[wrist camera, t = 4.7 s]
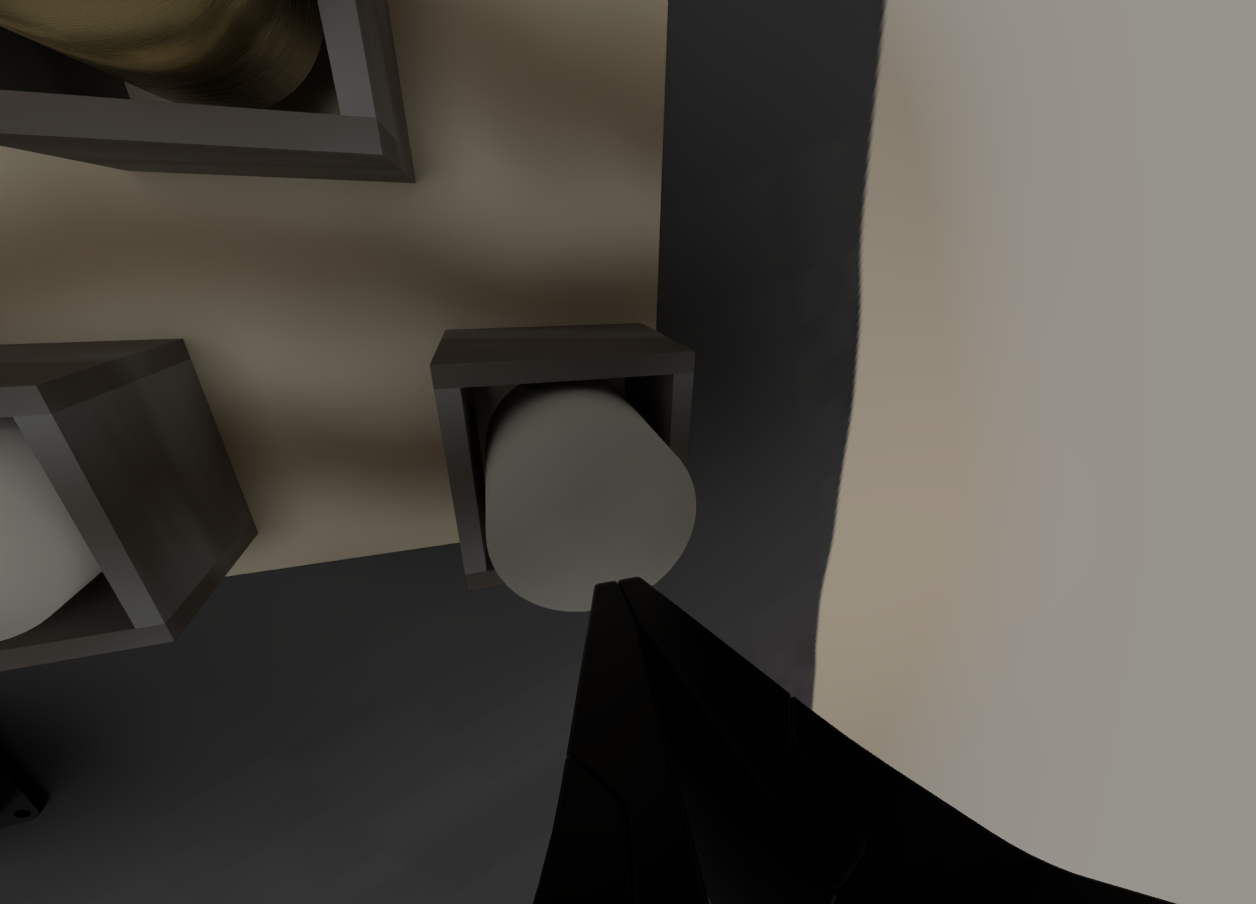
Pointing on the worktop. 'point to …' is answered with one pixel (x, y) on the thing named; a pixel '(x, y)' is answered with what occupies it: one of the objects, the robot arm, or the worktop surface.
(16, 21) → the brass dial
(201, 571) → the mount
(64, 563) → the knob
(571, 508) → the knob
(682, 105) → the worktop surface
